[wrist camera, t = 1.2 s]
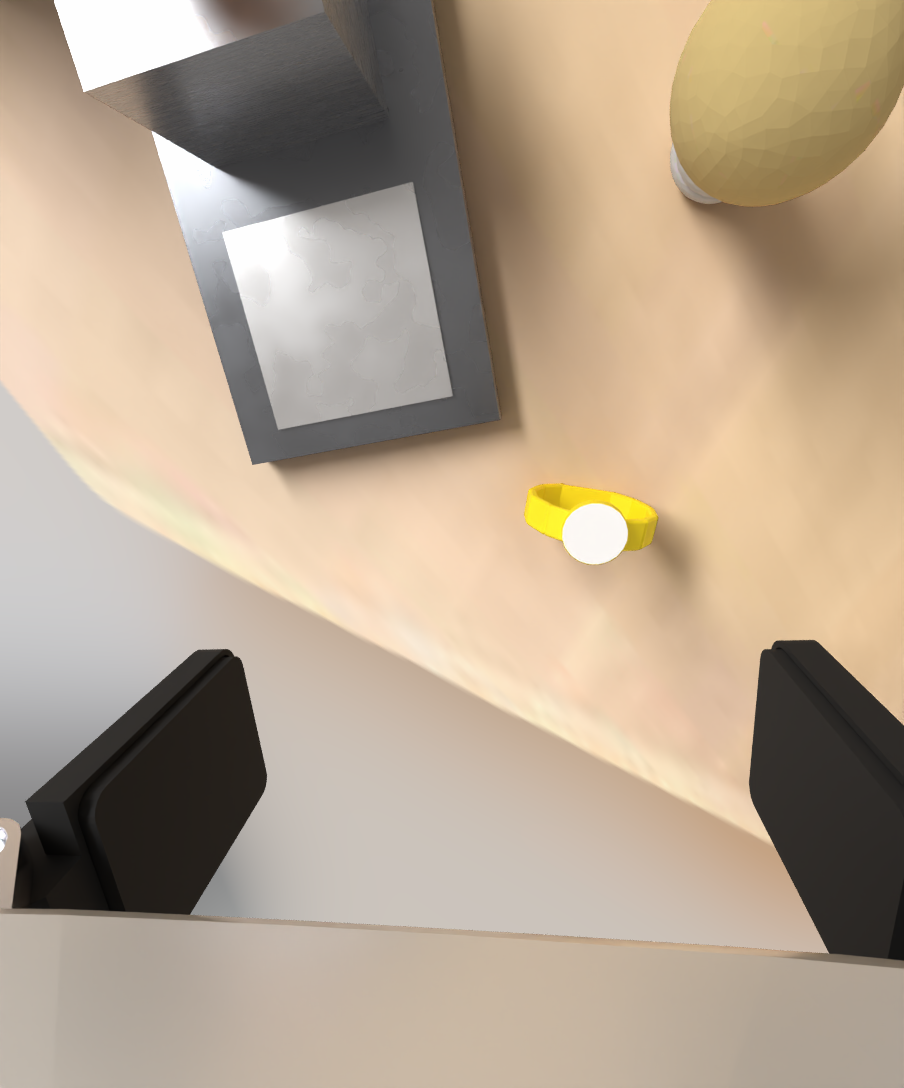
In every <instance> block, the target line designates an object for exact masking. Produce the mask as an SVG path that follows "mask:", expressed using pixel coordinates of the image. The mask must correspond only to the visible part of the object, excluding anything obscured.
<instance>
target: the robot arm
mask: <svg viewBox="0 0 904 1088" xmlns="http://www.w3.org/2000/svg"><path fill="white" fill-rule="evenodd" d="M266 780H267V773H266V768H265V763H264V759H263V754H262V750H261V745H260V741H259V736H258V731H257V727H256V723H255V718H254V713H253V709H252V704H251V700H250V695H249V691H248V686H247V682H246V677H245V672H244V668H243V664H242V661H241V660H240V658H238V657H234V655H233V653H232V652H231V651H230V650H228V649H217V650H197V651H196V652H194V653H193V654H192V655H191V656H189V657H188V658H187V659H186V660H185V661H184V662H183V663H182V664H180V665H179V666H178V667H177V668H176V669H175V670H174V671H172V672H171V673H170V674H169V675H168V676H167V677H166V678H165V679H163V680H162V681H161V682H160V683H159V684H158V685H157V686H155V687H154V688H153V689H152V690H151V691H150V692H149V693H148V694H146V695H145V696H144V697H143V698H142V699H141V700H140V701H139V702H137V703H136V704H135V705H134V706H133V707H132V708H131V709H129V710H128V711H127V712H126V713H125V714H124V715H123V716H122V717H120V719H118V720H117V721H116V722H115V723H114V724H113V725H111V726H110V727H109V728H108V729H107V730H106V731H105V732H103V733H102V734H101V735H100V736H99V737H98V738H97V739H96V740H95V741H93V742H92V743H91V744H90V745H89V746H88V747H87V748H85V749H84V750H83V751H82V752H81V753H80V754H79V755H77V756H76V757H75V758H74V759H73V760H72V761H71V762H70V763H68V764H67V765H66V766H65V767H64V768H63V769H62V770H60V771H59V772H58V773H57V774H56V775H55V776H54V777H53V778H51V779H50V780H49V781H48V782H47V783H46V784H45V785H44V786H42V787H41V788H40V789H39V790H38V791H37V792H36V793H34V794H33V795H32V796H31V797H30V798H29V799H28V800H27V801H25V802H26V804H27V807H28V810H29V812H30V815H31V818H32V819H31V820H30V821H29V822H28V823H27V824H26V825H25V826H24V827H23V828H22V829H21V827H20V825H19V824H18V823H17V822H15V821H14V820H12V819H7V818H0V1088H904V725H903V724H902V723H901V722H899V721H898V720H897V719H896V718H895V717H894V716H893V715H892V714H891V713H890V712H889V711H888V710H887V709H886V708H885V707H884V706H883V705H882V704H881V703H880V702H879V701H878V700H877V699H876V698H875V697H874V696H873V695H872V694H871V693H870V692H869V691H868V690H867V689H866V688H865V687H864V686H862V685H861V684H860V683H859V682H858V681H857V680H856V679H855V678H854V677H853V676H852V675H851V674H850V673H849V672H848V671H847V670H846V669H845V668H844V667H843V666H842V665H841V664H840V663H839V662H838V661H837V660H836V659H835V658H834V657H833V656H832V655H831V654H830V653H829V652H828V651H826V650H825V649H824V648H823V647H822V646H821V645H820V644H819V643H818V642H817V641H815V640H790V641H776V642H774V644H773V646H772V649H765V650H763V651H762V654H761V658H760V668H759V679H758V690H757V701H756V712H755V723H754V734H753V745H752V756H751V767H750V778H749V787H750V794H751V798H752V802H753V804H754V806H755V809H756V810H757V812H758V814H759V816H760V818H761V820H762V822H763V824H764V826H765V828H766V830H767V832H768V834H769V836H770V838H771V840H772V842H773V844H774V846H775V848H776V850H777V852H778V854H779V856H780V857H781V860H782V862H783V863H784V865H785V867H786V869H787V871H788V873H789V875H790V877H791V879H792V881H793V883H794V885H795V887H796V889H797V891H798V893H799V895H800V897H801V899H802V901H803V903H804V905H805V907H806V909H807V911H808V913H809V915H810V916H811V918H812V920H813V922H814V924H815V926H816V928H817V930H818V932H819V934H820V936H821V938H822V940H823V942H824V944H825V946H826V948H827V950H828V952H829V954H828V953H812V952H796V951H781V950H768V949H757V948H744V947H730V946H714V945H699V944H683V943H667V942H652V941H635V940H620V939H605V938H588V937H573V936H558V935H542V934H525V933H509V932H508V933H507V932H490V931H473V930H457V929H441V928H440V929H439V928H422V927H406V926H388V925H370V924H351V923H335V922H334V923H333V922H317V921H299V920H298V921H297V920H279V919H259V918H240V917H220V916H201V915H200V916H199V915H190V913H191V912H192V910H193V909H194V907H195V905H196V904H197V902H198V900H199V899H200V897H201V895H202V894H203V892H204V890H205V889H206V887H207V885H208V884H209V882H210V881H211V879H212V877H213V876H214V874H215V872H216V871H217V869H218V867H219V866H220V864H221V862H222V861H223V859H224V857H225V856H226V854H227V852H228V851H229V849H230V847H231V846H232V844H233V843H234V841H235V839H236V838H237V836H238V834H239V833H240V831H241V829H242V828H243V826H244V824H245V823H246V821H247V819H248V818H249V816H250V814H251V812H252V811H253V810H254V808H255V806H256V805H257V803H258V801H259V799H260V798H261V796H262V794H263V792H264V790H265V787H266V782H267V781H266Z"/></svg>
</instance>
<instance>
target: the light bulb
mask: <svg viewBox="0 0 904 1088" xmlns="http://www.w3.org/2000/svg"><path fill="white" fill-rule="evenodd" d="M903 86H904V0H711V1H710V3H709V4H708V6H707V8H706V9H705V11H704V12H703V14H702V15H701V17H700V19H699V20H698V22H697V23H696V25H695V26H694V28H693V30H692V31H691V34H690V36H689V38H688V41H687V43H686V45H685V47H684V50H683V52H682V54H681V57H680V60H679V63H678V66H677V70H676V74H675V77H674V81H673V85H672V92H671V100H670V126H671V137H672V141H673V143H672V148H671V153H670V168H671V173H672V177H673V179H674V182H675V184H676V185H677V187H678V188H679V189H680V191H681V192H682V193H683V194H684V195H685V196H686V197H688V198H690V199H691V200H693V201H696V202H699V203H704V204H715V203H720V202H725V203H728V204H734V205H739V206H746V207H753V206H768V205H775V204H779V203H782V202H785V201H788V200H791V199H794V198H797V197H799V196H802V195H804V194H807V193H809V192H811V191H813V190H815V189H816V188H818V187H820V186H822V185H823V184H825V183H827V182H828V181H829V180H831V179H832V178H834V177H835V176H836V175H838V174H839V173H841V172H842V171H843V170H844V169H846V168H847V167H848V166H849V165H850V164H851V163H852V162H853V161H854V160H855V159H856V158H857V157H858V156H859V155H860V154H861V153H863V152H864V151H865V149H866V148H867V147H868V146H869V144H870V143H871V142H872V140H873V139H874V138H875V137H876V135H877V134H878V133H879V131H880V130H881V129H882V128H883V126H884V124H885V123H886V121H887V119H888V117H889V115H890V114H891V112H892V110H893V108H894V107H895V105H896V102H897V100H898V98H899V95H900V93H901V91H902V88H903Z"/></svg>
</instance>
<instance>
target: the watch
mask: <svg viewBox="0 0 904 1088" xmlns="http://www.w3.org/2000/svg"><path fill="white" fill-rule="evenodd" d="M524 516H525V520H526V522H527V524H528V525H529V526H531V527H532V528H534V529H536V530H537V531H539V532H540V533H542V534H545V535H546V536H549V537H551V538H554V539H557V540H560V541H563V544H564V547H565V549H566V550H567V552H568V553H569V554H570V556H572V557H573V558H574V559H576V560H577V561H579V562H582V563H585V564H588V565H600V564H604V563H608V562H610V561H611V560H613V559H615V558H616V557H618V556H619V554H620V553H621V552H622V551H635V550H640V549H642V548H644V547H646V546H647V545H649V544H651V542H652V539H653V536H654V532H655V528H656V524H657V521H658V516H657V514H656V512H655V510H654V509H653V508H652V507H650V506H649V505H647V504H645V503H643V502H641V501H639V500H636V499H634V498H631V497H628V496H625V495H622V494H619V493H615V492H608V491H602V490H595V489H589V488H583V487H576V486H570V485H564V484H563V483H561V484H542V485H538V486H535V487H533V488H531V489H529V491H528V496H527V501H526V507H525V512H524Z"/></svg>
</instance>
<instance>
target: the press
mask: <svg viewBox="0 0 904 1088" xmlns="http://www.w3.org/2000/svg"><path fill="white" fill-rule="evenodd" d="M54 2H55V5H56V8H57V11H58V14H59V17H60V20H61V23H62V26H63V29H64V33H65V36H66V39H67V42H68V45H69V48H70V51H71V54H72V57H73V60H74V63H75V66H76V69H77V72H78V75H79V78H80V81H81V84H82V87H83V91H84V92H85V93H87V94H89V95H91V96H92V97H94V98H96V99H97V100H99V101H101V102H103V103H104V104H106V105H108V106H110V107H111V108H113V109H115V110H116V111H118V112H120V113H122V114H123V115H125V116H127V117H129V118H130V119H132V120H134V121H136V122H137V123H139V124H141V125H142V126H144V127H146V128H148V129H149V130H151V131H152V134H153V137H154V140H155V144H156V147H157V150H158V154H159V157H160V160H161V164H162V167H163V170H164V174H165V177H166V180H167V183H168V187H169V190H170V193H171V197H172V200H173V203H174V207H175V210H176V213H177V217H178V220H179V223H180V226H181V230H182V233H183V236H184V240H185V243H186V246H187V250H188V253H189V256H190V260H191V263H192V266H193V269H194V273H195V276H196V279H197V283H198V286H199V289H200V293H201V296H202V299H203V303H204V306H205V309H206V312H207V316H208V319H209V322H210V326H211V329H212V332H213V336H214V339H215V342H216V345H217V349H218V352H219V355H220V359H221V362H222V365H223V369H224V372H225V375H226V379H227V382H228V385H229V388H230V392H231V395H232V398H233V402H234V405H235V408H236V412H237V415H238V418H239V422H240V425H241V428H242V431H243V435H244V438H245V441H246V445H247V448H248V451H249V455H250V458H251V461H252V465H254V464H260V463H265V462H271V461H276V460H282V459H287V458H293V457H298V456H304V455H309V454H315V453H320V452H326V451H331V450H337V449H342V448H348V447H353V446H359V445H364V444H370V443H375V442H381V441H386V440H391V439H397V438H402V437H408V436H413V435H419V434H424V433H430V432H435V431H441V430H446V429H452V428H457V427H463V426H468V425H474V424H479V423H485V422H490V421H496V420H500V418H501V411H500V405H499V398H498V392H497V386H496V380H495V374H494V368H493V362H492V356H491V350H490V344H489V337H488V331H487V325H486V319H485V313H484V307H483V301H482V295H481V289H480V282H479V276H478V270H477V264H476V258H475V252H474V246H473V240H472V234H471V228H470V221H469V215H468V209H467V203H466V197H465V191H464V185H463V179H462V173H461V167H460V160H459V154H458V148H457V142H456V136H455V130H454V124H453V118H452V112H451V105H450V99H449V93H448V87H447V81H446V75H445V69H444V63H443V57H442V51H441V44H440V38H439V32H438V26H437V20H436V14H435V8H434V2H433V0H54Z"/></svg>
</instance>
